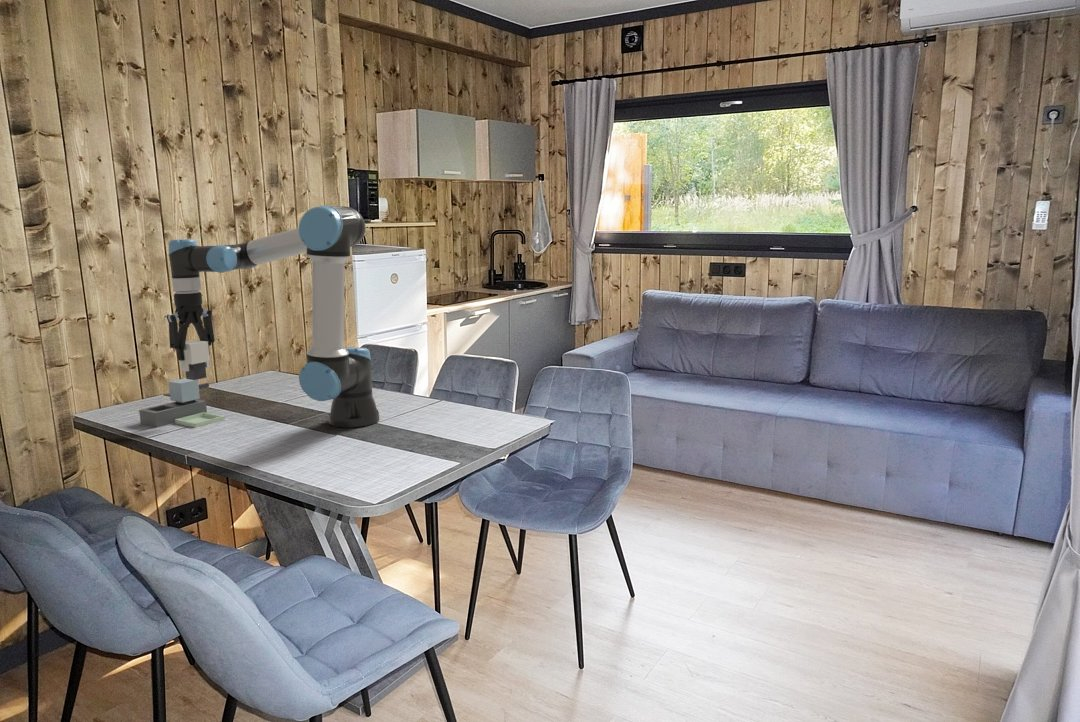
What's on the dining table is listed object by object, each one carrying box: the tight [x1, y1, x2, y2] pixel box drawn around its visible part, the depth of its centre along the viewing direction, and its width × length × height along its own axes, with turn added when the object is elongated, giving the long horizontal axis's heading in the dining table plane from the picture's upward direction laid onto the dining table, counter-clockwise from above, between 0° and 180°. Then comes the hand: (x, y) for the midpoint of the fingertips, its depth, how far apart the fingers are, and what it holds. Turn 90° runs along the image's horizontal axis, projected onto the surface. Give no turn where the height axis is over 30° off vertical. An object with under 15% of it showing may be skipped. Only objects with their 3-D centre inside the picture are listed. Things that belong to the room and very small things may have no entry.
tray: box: [174, 412, 226, 429], centre depth 231 cm, size 10×10×2 cm
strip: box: [138, 377, 210, 429], centre depth 235 cm, size 8×21×12 cm, turn 150°
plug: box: [178, 339, 211, 381], centre depth 227 cm, size 6×6×11 cm
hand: (195, 368), depth 228 cm, fingers closed on plug, 6 cm apart
